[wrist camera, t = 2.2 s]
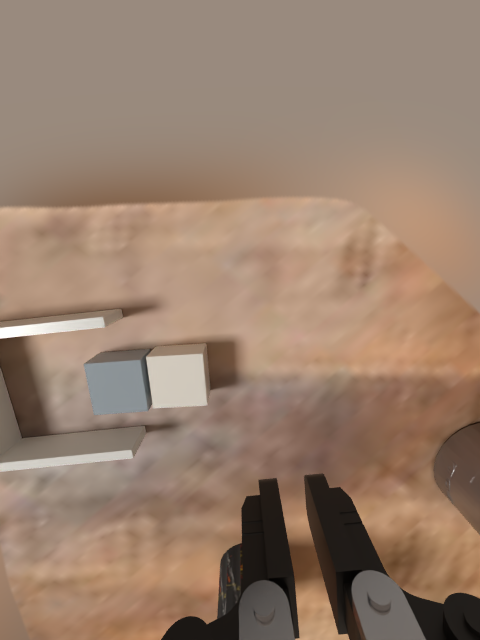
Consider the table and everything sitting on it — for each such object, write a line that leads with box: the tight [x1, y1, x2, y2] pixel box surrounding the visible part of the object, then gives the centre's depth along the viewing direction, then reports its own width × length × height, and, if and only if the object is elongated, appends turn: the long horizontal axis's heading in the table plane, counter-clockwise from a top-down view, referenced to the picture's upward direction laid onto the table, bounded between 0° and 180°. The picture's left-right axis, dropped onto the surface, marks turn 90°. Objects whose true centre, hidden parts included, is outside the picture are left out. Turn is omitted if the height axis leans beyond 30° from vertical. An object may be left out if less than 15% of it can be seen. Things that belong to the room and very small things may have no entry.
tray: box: [0, 309, 146, 472], centre depth 24 cm, size 13×12×4 cm
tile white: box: [146, 343, 210, 408], centre depth 25 cm, size 4×4×3 cm
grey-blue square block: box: [84, 349, 152, 415], centre depth 25 cm, size 4×4×3 cm
